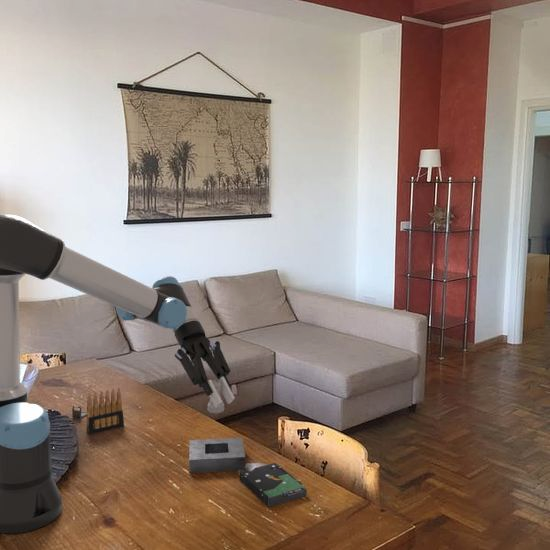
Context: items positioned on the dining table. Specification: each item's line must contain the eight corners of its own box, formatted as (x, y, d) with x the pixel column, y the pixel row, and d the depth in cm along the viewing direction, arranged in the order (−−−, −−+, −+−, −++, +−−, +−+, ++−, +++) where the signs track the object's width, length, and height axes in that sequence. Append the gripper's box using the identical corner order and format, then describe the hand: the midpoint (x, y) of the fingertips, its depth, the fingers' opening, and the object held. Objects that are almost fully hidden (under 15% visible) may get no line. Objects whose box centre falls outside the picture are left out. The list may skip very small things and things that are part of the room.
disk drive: (238, 482, 146) (269, 509, 133) (238, 471, 146) (268, 497, 133) (275, 472, 151) (307, 497, 138) (274, 462, 151) (307, 486, 138)
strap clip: (80, 414, 190) (80, 401, 189) (89, 414, 189) (88, 401, 189) (65, 424, 182) (64, 410, 181) (74, 425, 181) (73, 411, 180)
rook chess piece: (225, 407, 157) (224, 377, 155) (224, 413, 152) (223, 383, 151) (208, 407, 156) (207, 378, 155) (206, 414, 152) (206, 383, 151)
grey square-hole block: (245, 470, 151) (245, 456, 151) (189, 473, 149) (189, 460, 149) (242, 449, 163) (242, 437, 162) (190, 452, 161) (189, 440, 161)
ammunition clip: (121, 424, 181) (120, 386, 179) (124, 426, 179) (122, 387, 177) (86, 432, 174) (84, 393, 173) (88, 434, 173) (86, 394, 171)
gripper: (205, 330, 169) (243, 402, 159) (155, 340, 158) (192, 418, 148) (217, 314, 164) (256, 388, 154) (165, 324, 153) (204, 403, 143)
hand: (225, 402), depth 151 cm, fingers closed on rook chess piece, 3 cm apart
